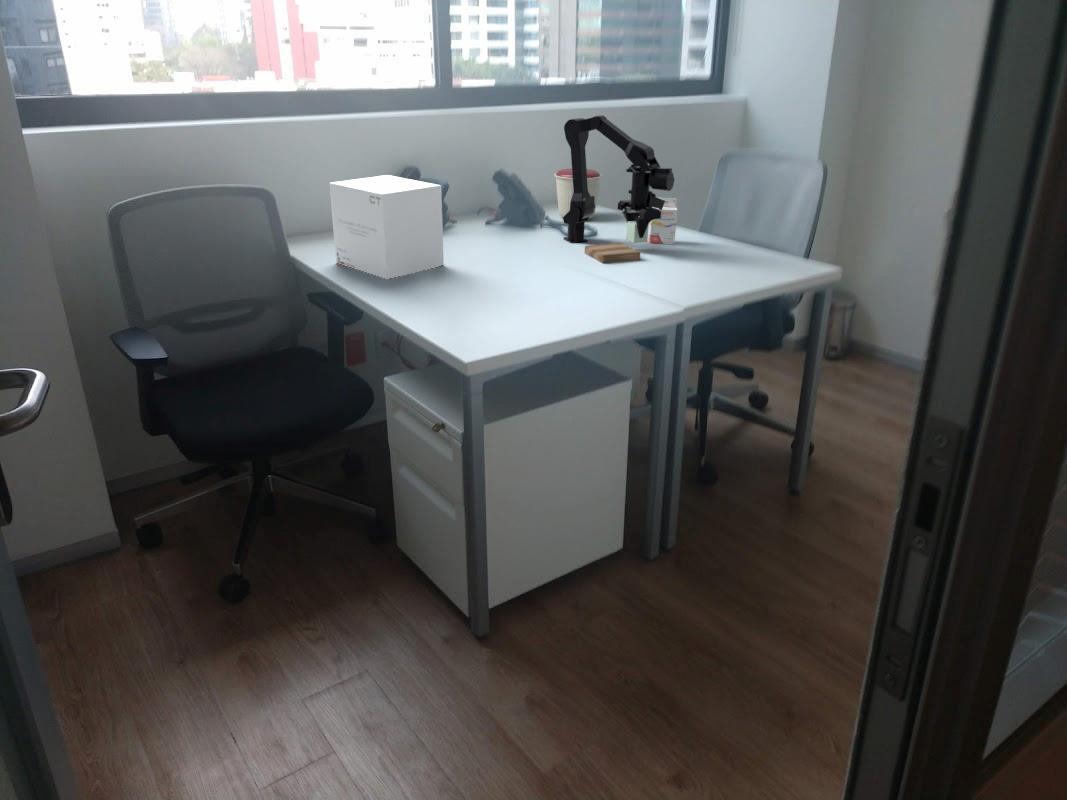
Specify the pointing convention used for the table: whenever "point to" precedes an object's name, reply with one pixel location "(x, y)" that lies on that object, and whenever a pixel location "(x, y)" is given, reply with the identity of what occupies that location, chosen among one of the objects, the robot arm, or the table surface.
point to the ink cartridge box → (665, 223)
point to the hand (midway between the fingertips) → (637, 236)
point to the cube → (387, 225)
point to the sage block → (635, 233)
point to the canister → (566, 188)
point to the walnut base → (612, 253)
